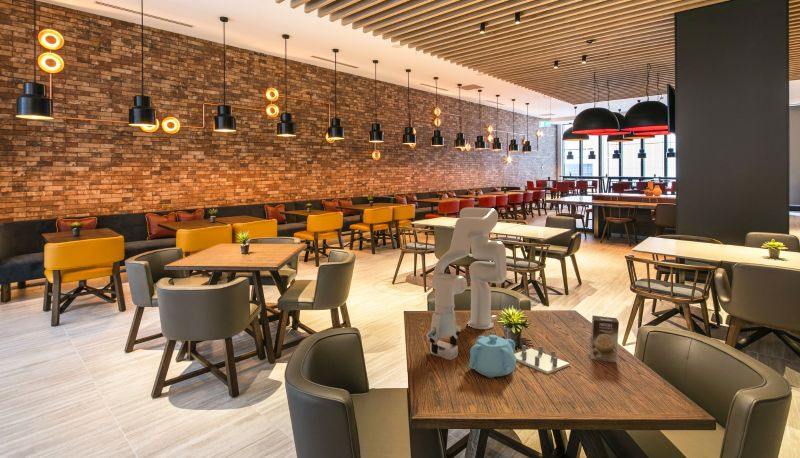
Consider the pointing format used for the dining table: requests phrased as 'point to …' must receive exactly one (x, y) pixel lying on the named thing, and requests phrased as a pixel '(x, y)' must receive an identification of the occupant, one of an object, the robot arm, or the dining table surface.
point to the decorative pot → (493, 356)
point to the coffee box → (604, 338)
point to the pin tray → (540, 360)
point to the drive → (446, 350)
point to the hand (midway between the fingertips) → (443, 350)
